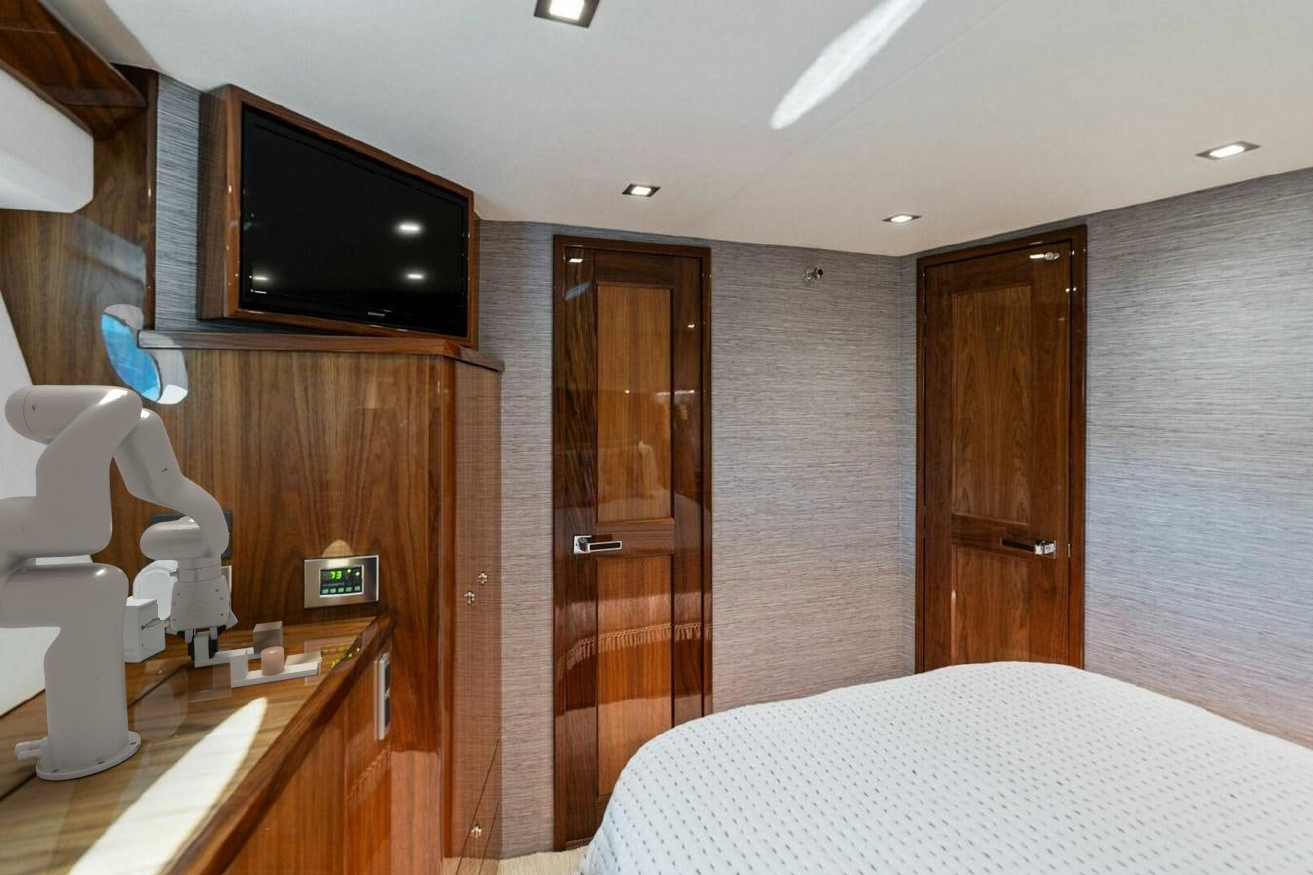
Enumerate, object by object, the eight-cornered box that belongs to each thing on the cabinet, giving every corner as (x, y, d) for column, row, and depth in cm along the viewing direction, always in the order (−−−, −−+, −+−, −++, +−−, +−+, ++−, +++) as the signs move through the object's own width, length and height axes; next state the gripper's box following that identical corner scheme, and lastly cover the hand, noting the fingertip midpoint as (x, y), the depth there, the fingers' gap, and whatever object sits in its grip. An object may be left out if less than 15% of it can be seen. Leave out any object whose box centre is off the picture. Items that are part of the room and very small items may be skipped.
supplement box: (140, 663, 138) (137, 605, 137) (106, 662, 138) (103, 605, 138) (166, 649, 146) (164, 594, 145) (134, 648, 146) (132, 594, 145)
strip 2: (230, 687, 126) (229, 657, 126) (234, 679, 130) (233, 649, 129) (316, 674, 132) (316, 645, 132) (318, 666, 136) (317, 638, 135)
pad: (283, 669, 135) (283, 668, 135) (287, 657, 141) (287, 655, 141) (321, 664, 137) (321, 662, 137) (323, 651, 144) (323, 650, 144)
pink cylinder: (260, 677, 128) (259, 655, 128) (263, 669, 132) (262, 648, 131) (283, 673, 130) (282, 652, 129) (285, 666, 133) (284, 645, 133)
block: (253, 654, 139) (252, 631, 139) (257, 645, 144) (256, 624, 143) (280, 650, 141) (279, 628, 141) (282, 642, 146) (282, 621, 145)
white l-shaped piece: (195, 667, 135) (193, 638, 135) (199, 659, 139) (198, 632, 138) (277, 655, 141) (276, 628, 141) (279, 648, 145) (278, 622, 145)
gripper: (147, 582, 129) (152, 670, 131) (241, 573, 136) (244, 657, 137) (158, 572, 136) (162, 656, 138) (247, 564, 143) (250, 645, 144)
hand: (203, 656), depth 137 cm, fingers closed on white l-shaped piece, 2 cm apart
